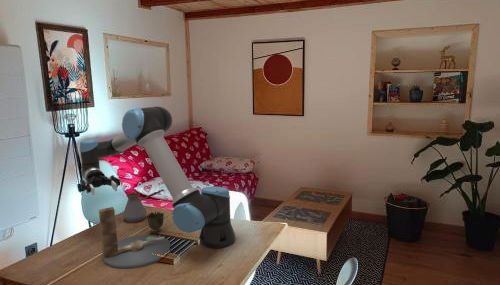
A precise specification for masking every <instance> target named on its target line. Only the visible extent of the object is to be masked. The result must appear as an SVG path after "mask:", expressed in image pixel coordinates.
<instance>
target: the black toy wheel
mask: <svg viewBox="0 0 500 285" xmlns="http://www.w3.org/2000/svg"><path fill="white" fill-rule="evenodd" d="M146 218H147V224H148V227H149V228H150V229H151V230H152V232H153V233H158V232H160V231H161V228H162V227H163V225H164V213H163V212H159V211H157V212H156V211H155V212H151V213H148V215H146Z"/></svg>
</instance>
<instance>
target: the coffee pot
mask: <svg viewBox="0 0 500 285" xmlns="http://www.w3.org/2000/svg"><path fill="white" fill-rule="evenodd" d="M161 192H162V193H165V192H166V190H165V189H160V190H157V191H154V192H152V193H151V194H149V195H146V196H144V197H142V198H140V196H141V193H140V192H131V193H128V194H126V197H127V198H128V199H127V201H126V202H127V203H126V204H125V207H124V210H123V213H122V217H123V219H124V220H126V221H127V222H128V223H137V222H141V221H143V220H144V219H145V217H147V214H148V212H147V210H146V208H145V206H144V204H143V203H142V201H144V200H146V199H148V198H151V197H153V196H156V195H157V194H161Z"/></svg>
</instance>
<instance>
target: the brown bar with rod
mask: <svg viewBox="0 0 500 285" xmlns="http://www.w3.org/2000/svg"><path fill="white" fill-rule="evenodd" d="M115 212H116V210H115V208H114V207H113V206H111V207H105V208H101V209H100V208H99V209H98V215H99V224H100V225H99V226H100V235H101V246H102V253H103V255H104V257H109V256H112V255H116V254H118V253H119V252H123V251H127V250H130V249H131V250H133V251H137V250H141V249H143V248H144V244H146V243H150V242H154V241H158V240H161V239H164V238H165V237H164V236H161V237H160V238H156V239H152V240H148V241H144V242H143V241H141V240H137V241H133V242H131V243H130V245H128V246H124V247H120V248H118V243H117V241H118V235H117V234H118V233H117V222H116V213H115Z"/></svg>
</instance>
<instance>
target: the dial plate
mask: <svg viewBox="0 0 500 285" xmlns="http://www.w3.org/2000/svg"><path fill="white" fill-rule="evenodd" d="M160 237H162V236H160V235H156V234H155V235H154V234H141V235H140V234H139V235H134V236H128V237H125V238H122V239H119V240H117V243H118V248H120V247H124V246H128V245H130V243H131V242H133V241H137V240H141V241H143V242H144V241H148V240H152V239H156V238H160ZM170 247H171V242H170V240H169V239H168V238H166V237H164V239H161V240H158V241H154V242H150V243H146V244H144V248H143V249H141V250H137V251H133V250H131V249H130V250H127V251H123V252H119V253H118V254H116V255H112V256H109V257H104V255H103V252H102V253H101V257H102V262H103V263H104V265H106V266H107V267H110V268H114V269H119V270H121V269H124V270H125V269H127V270H128V269H137V268H143V267H147V266H150V265H152V264H155V263H158V262H159V261H160V260H159V259H160V256H157V254H160V255H164V254H165V253H167V252H168V251H169V250H170ZM170 251H171V250H170ZM152 253H153V254H154V255H153V254H152ZM155 254H156V255H155Z"/></svg>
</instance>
